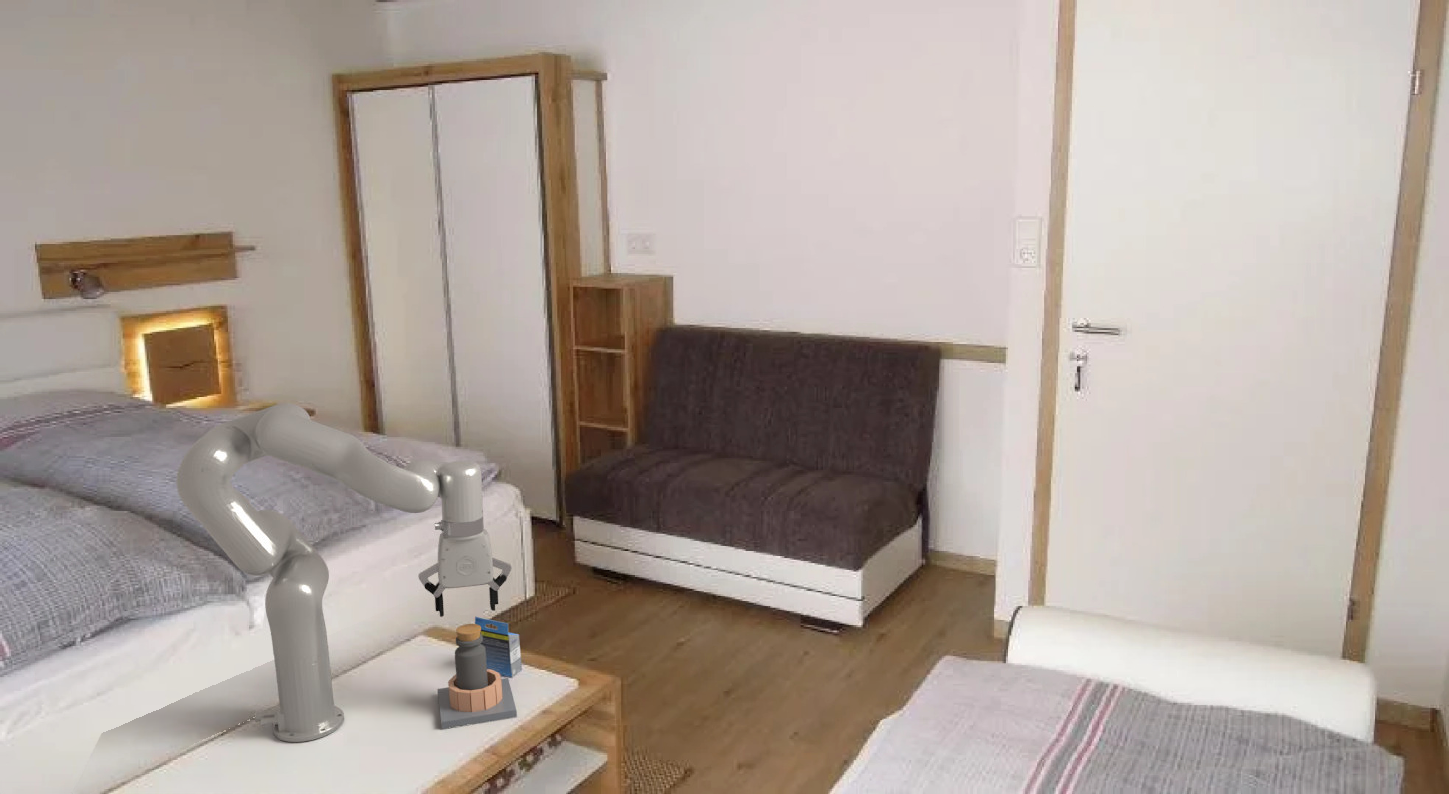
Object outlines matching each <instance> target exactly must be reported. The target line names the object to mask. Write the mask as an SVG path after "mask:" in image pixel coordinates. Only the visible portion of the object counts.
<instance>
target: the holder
mask: <svg viewBox="0 0 1449 794" xmlns="http://www.w3.org/2000/svg"><path fill="white" fill-rule="evenodd" d="M501 676H502V675H500V673H498V672H496V671H494V670H491V669H487V679H488V686H487V687H485V688H483V689H477V690H460V689H459V688H457V678H456V674H454V675H453V676H452V677H451V678H450V679H449V680H448V681H447V684H448V686H447V687H442V688H437V697H438V699H439V700H438V707H439V713H440V714H439V715H440V724H441V730H447V729H446V728H448V729H450V728H449V727H454V728H456V727H455V726H460V727H464V726H463V725H466V726H468V725H467V724H472V725H478V724H483V723H490V722H496V721H500V720H501V721H502V720H506V719H513V718H517V717H518V716H517V715H518V713H517V707H516V704H515V700H514V695H513V691H512V687H511V684H510V680H509V677H506V678H505V677H504V678H502V677H501ZM489 721H490V722H489ZM477 723H478V724H477Z"/></svg>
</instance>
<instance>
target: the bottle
mask: <svg viewBox="0 0 1449 794" xmlns="http://www.w3.org/2000/svg"><path fill="white" fill-rule="evenodd" d="M455 632H456V635H457V636H456V638H455V644H456V646H457V647H456V649H455V650H454V661H455V662H454V664H455V673H456V674H455V675H456V678H457V688H459V689H460V690H477V689H483V688H485V687H487V686H488V679H487V664H486V651H485V647H484V646H483V645H482V644H480V643H482V641H483V636H482V634H480V632H481V626H480V625H477V624H475V623H467V624H466V623H465V624H463V625H460V626H458V627H457V628H456V629H455Z"/></svg>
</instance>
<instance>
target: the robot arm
mask: <svg viewBox="0 0 1449 794" xmlns="http://www.w3.org/2000/svg"><path fill="white" fill-rule="evenodd" d="M266 456H269V457H271V458H274V459H277V460H279V461H283V462H285V463H288V464H292V465H294V466H297V467H300V468H302V469H306V470H308V471H311V472H315V473H318V474H320V475H323V476H325V477H328V478H332V479H333V480H336V481H338V482H339V483H340V484H342V486H343V485H344V486H345V487H347V488H348V489H351V490H352V491H353V492H355V493H357V494H359V495H360V496H363V497H364V498H366V499H368V500H370V501H372V502H375V503H378V504H380V505H383V506H386V507H388V508H392V509H395V510H398V511H401V512H405V513H408V514H409V513H410V514H420V513H424V512H426V511H428V510H430V509H431V508H433V506H434V505H435V504H436V502H437V500H438V498H440V500H441V501H440V502H441V515H442V516H441V518H442V519H441V520H440V521H438V522H434V529H435V530H437V531H438V530H439V531H441V533H440V534H439V538H438V545H437V546H438V547H437V562H436V563H434V564H433V565H431V566H430V567H428V568H425V569H424V570H423V571H421V572H419V573H418V575H417V576H418V580H419V581H420V582H421V584H422V586H423V587H424V589H425V590H426V591H427V592H428V593H431V595H433V597H434V606H435V612H439V617H441V618H442V617H444V616H445V614H444V612H445V611H444V595H443V593H444V590H446V589H458V588H467V587H475V586H476V587H477V586H483V585H484V586H485V585H488V586H489V589H488V590H489V606H490V607H489V608H490V611H494V612H495V611H496V605H499V590H500V588H501V587H502V586H503V584H504V583H505V582H506V581H507V579H508V576H509V574H510V572H511V571H512V565H511V564H510V563H508V562H504V561H502V560H499V559H497V558H495V557H493V553H492V544H491V539H490V535H489V532H488V530H487V529H485V528H484V527H485V526H484V525H485V524H484V507H483V485H482V484H483V483H482V482H483V480H482V470H481V467H480V465H479V464H478V463H477V462H475V461H471V460H455V461H450V462H443V461H435V460H434V461H433V460H423V459H421V460H414V461H411V462H409V463H408V464H406V465H405V466H404V467H400V466H396V465H393V464H392V463H389V462H388V461H385V460H383V459H380V458H379V457H378V456H376V455H375V454H373V453H372V452H371V451H370V450H368V448H366V446H365V445H364V444H363V442H362V441H361V440H359V438H357V437H356V436H354V435H352V434H351V433H348V432H344V431H341V430H339V429H336V428H333V427H331V426H328V425H325V424H322V423H319V422H317V421H314V420H312V418H311V416H310V415H309V413H308V412H307V410H306V409H305V408H303V407H302V406H300V405H298V404H295V403H291V402H289V403H288V402H284V403H278V404H274V405H271V406H270V407H266V408H263V409H261V410H258V411H256V412H255V411H254V412H252V413H250V414H247V415H244V416H241V417H238V418H235V419H232V420H229V421H226V422H224V423H222V424H221V423H220V424H218V425H216V426H214V427H213V428H211V429H209V430H208V432H206V433H205V434H204V435H203V436H201V437H200V438H199V439H198V440H197V441H195V443H193V444H192V445H191V447H189V449H188V450H187V451H186V453H185V455H184V456H183V459H182V460H181V463H180V464H179V467H178V469H177V473H176V490H177V492H178V495H179V499H180V500H181V502H182V504H184V506H185V507H186V508H187V510H188V511H189V512H190V513H191V514H192V515H193V517H194V518H195V519H196V520H197V521H198V522H199V524H201V526H202V527H203V528H204V529H205V530H206V531H207V533H208V534H209V535H210V537H211V538H212V539H213V540H214V541H215V542H216V544H217V545H218V546H219V547H220V548H221V549H222V550H223V552H224V553H225V554H226V555H227V556H228V558H229V559H230V560H231V561H232V562H233V564H234V565H235V566H236V567H237V568H238V569H239V570H241V571H242V572H243V573H245V574H247V575H250V576H255V577H256V576H258V577H259V576H262V575H266V574H269V575H270V576H271V580H270V582H269V585H268V586H267V590H266V593H265V599H264V603H265V604H264V605H265V607H264V608H265V614H266V618H267V622H268V625H269V630H270V637H271V642H272V643H271V644H272V653H273V656H274V657H273V658H274V666H275V667H274V668H275V675H276V685H277V694H278V706H275V707H273V709H269V710H259V711H258V710H257V711H255V713H254V718H255V722H256V723H260V725H261V727H265V726H269V725H273V726H272V729H273V734H274V736H275V737H276V738H277V739H279V740H280V741H284V742H290V743H300V742H301V743H302V742H308V741H309V742H310V741H314V740H318V739H320V738H323V737H326V736H328V735H330V734H332V733H334V732H335V731H337V730H338V729H339V728H340V727H341V726H342V725H343V724H344V720H345V715H344V714H345V713H344V711H343V710H342V709H341V708H340V707H338V706H337V705H335V701H334V700H335V699H334V692H333V683H332V671H331V670H332V669H331V663H330V662H331V661H330V652H329V642H328V634H327V627H326V621H325V615H324V610H323V609H324V608H323V597H324V596H325V591H326V590H327V587H328V584H329V579H330V571H329V568H328V565H327V563H326V562H325V560H324V558H323V557H322V556H321V554H320V553H319V552H318V551H317V550H316V548H315V547H314V546H313V545H312V544H311V543H310V542H309V540H308V539H307V538H306V537H305V536H304V534H303V533H302V532H301V531H300V529H299V528H298V527H297V526H296V525H295V524H294V522H293V521H291V520H290V519H289V518H288V517H287V516H286V515H284V514H282V513H281V512H278V511H276V510H271V509H263V510H257V509H256V508H255V507H254V506H253V505H252V503H251V502H250V500H248V498H246V496H245V495H244V494H242V492H240V491H239V490H238V489H236V488H235V487H233V485H232V482H231V479H232V477H233V476H234V475H235V474H236V473H237V472H238V471H239V470H240V469H241V467H243V466H244V464H247V463H249V462H252V461H255V460H259V459H261V458H264V457H266ZM494 568H496V569H497V568H498V570H499V569H500V570H501V573H500V574H499V575H498V576H497V577H496V578H495V577H494ZM436 573H437V578H438V581H437V582H436V584H434V583H433V582H431V581H430V579H429V578H430V577H432V576H433V575H435V574H436Z"/></svg>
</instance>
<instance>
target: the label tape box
mask: <svg viewBox="0 0 1449 794" xmlns="http://www.w3.org/2000/svg"><path fill="white" fill-rule="evenodd" d="M474 624H477V625H480V626H481V632H480V634H482V636H483V641H482V643H480V644H482V645H483V646H484V647H485V651H486V664H487V669H491V670H494V671H496V672H498V673H500V676H503V677H508V676H509V677H508V678H514V677H515V676H516V675H518V674H519V673H521V672H522V670H523V666H522V665H523V664H522V655H521V653H522V652H521V645H520V634H518V633H513V632H509V623H507V622H502V621H498V620H493V619H489V618H483V617H479V616H475V618H474ZM486 625H488V626H490V625H492V626H493V627H496V628H492V627H487V626H486ZM517 673H518V674H517ZM513 676H514V677H513Z"/></svg>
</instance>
